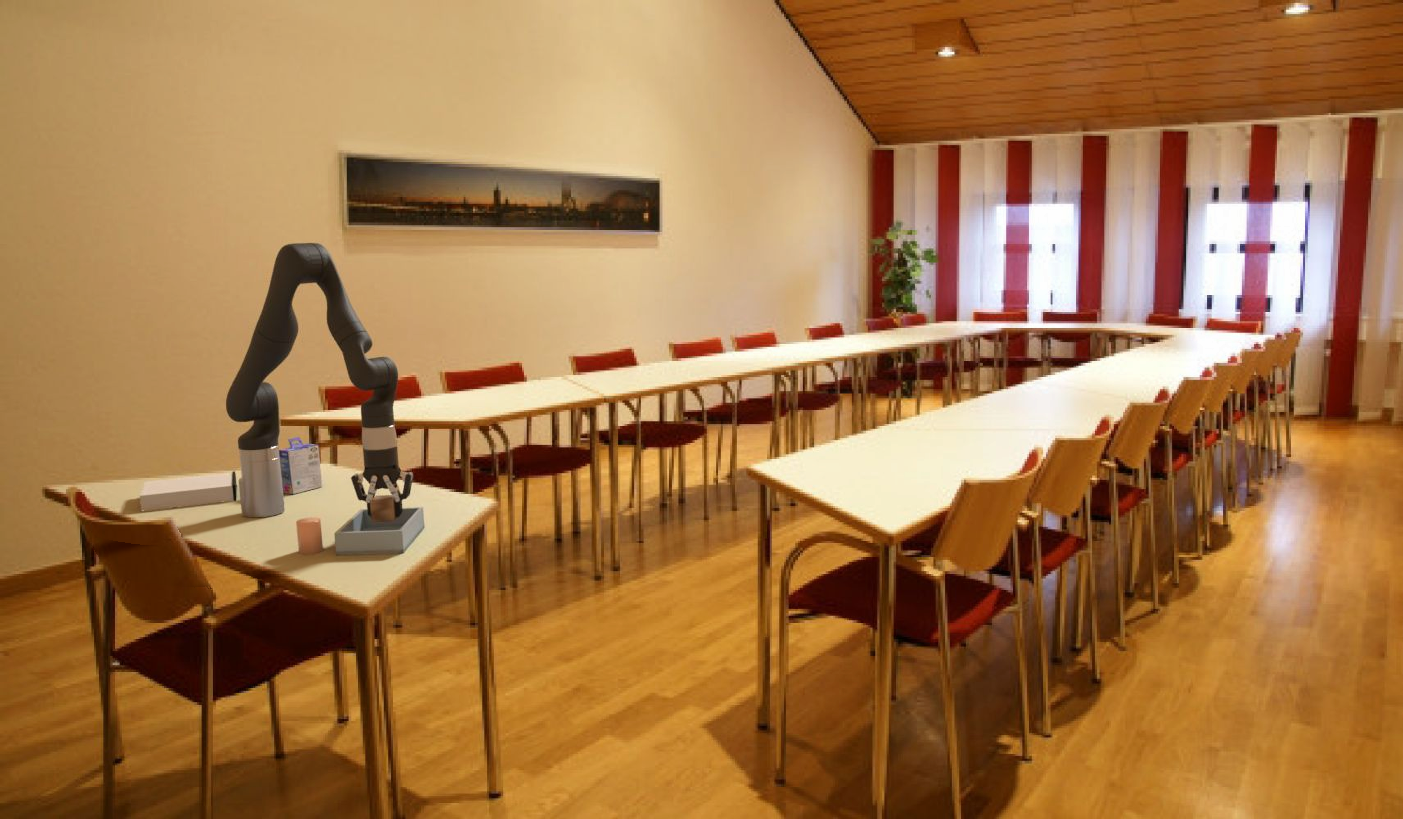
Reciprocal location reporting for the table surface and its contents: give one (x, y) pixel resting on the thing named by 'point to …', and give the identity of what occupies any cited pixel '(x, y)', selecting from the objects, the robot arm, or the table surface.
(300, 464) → the ink cartridge box
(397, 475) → the robot arm
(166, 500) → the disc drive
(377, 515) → the cube
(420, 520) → the tote
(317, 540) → the orange round part
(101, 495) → the table surface
